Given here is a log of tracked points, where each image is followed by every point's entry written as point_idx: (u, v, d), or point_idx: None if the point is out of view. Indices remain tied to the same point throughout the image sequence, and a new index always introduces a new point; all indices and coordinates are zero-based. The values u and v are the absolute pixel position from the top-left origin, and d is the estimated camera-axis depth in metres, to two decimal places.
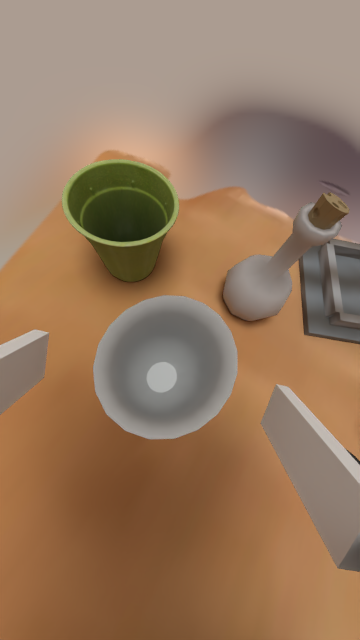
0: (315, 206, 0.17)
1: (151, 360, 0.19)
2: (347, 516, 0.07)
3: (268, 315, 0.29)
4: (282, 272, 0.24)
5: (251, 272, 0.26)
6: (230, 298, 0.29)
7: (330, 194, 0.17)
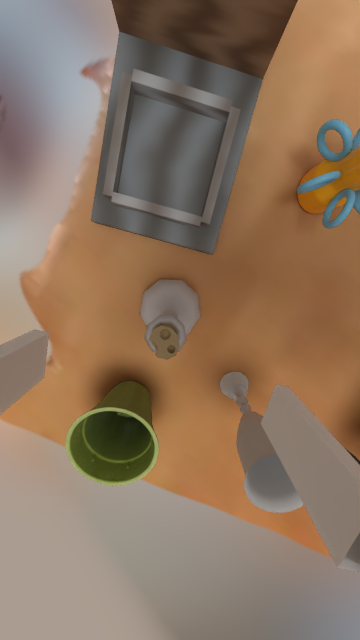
0: None
1: None
2: (347, 516, 0.07)
3: None
4: (177, 317, 0.26)
5: None
6: None
7: (152, 341, 0.18)
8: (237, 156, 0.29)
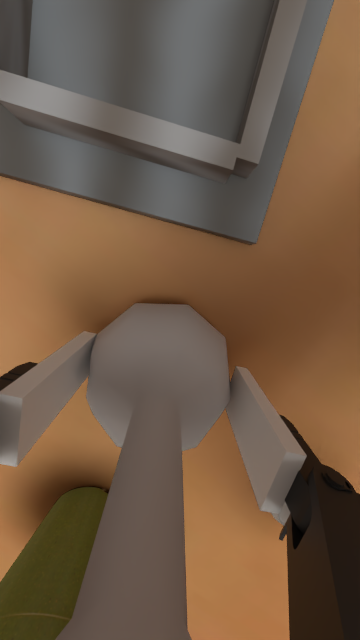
0: None
1: None
2: (269, 466, 0.08)
3: (227, 361, 0.13)
4: (180, 440, 0.08)
5: None
6: None
7: None
8: None
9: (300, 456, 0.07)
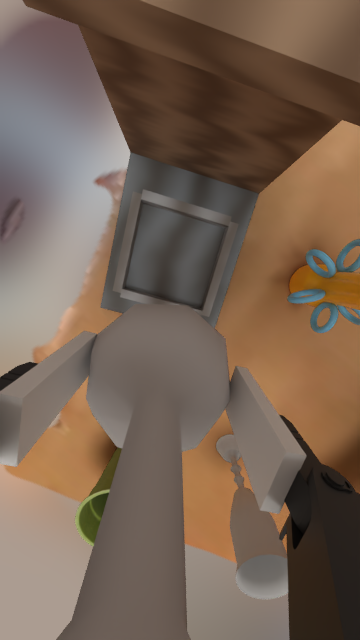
0: None
1: None
2: (269, 466, 0.08)
3: (227, 362, 0.13)
4: (180, 441, 0.08)
5: None
6: None
7: None
8: (235, 256, 0.32)
9: (300, 456, 0.07)
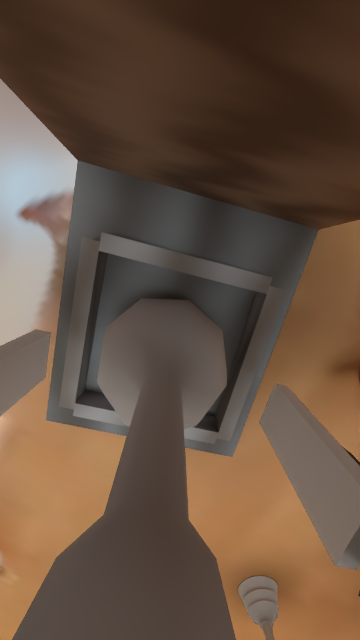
0: None
1: None
2: (344, 514, 0.07)
3: (224, 352, 0.15)
4: (182, 411, 0.09)
5: None
6: None
7: None
8: (273, 335, 0.18)
9: None
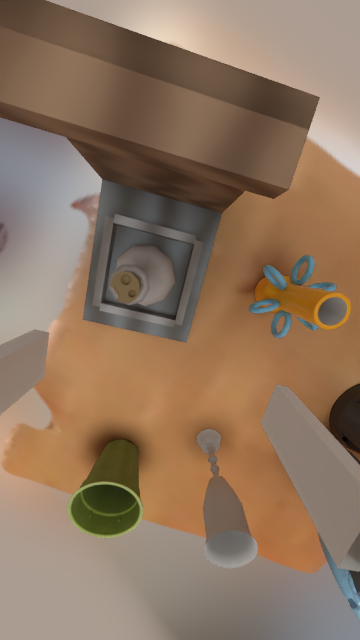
0: None
1: None
2: (347, 516, 0.07)
3: (173, 270, 0.32)
4: (148, 277, 0.26)
5: None
6: (155, 302, 0.33)
7: (113, 286, 0.18)
8: (203, 269, 0.35)
9: None
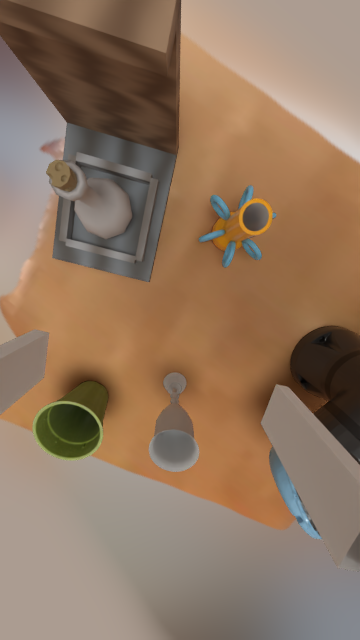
0: (60, 188, 0.22)
1: None
2: (347, 516, 0.07)
3: (129, 204, 0.35)
4: (98, 197, 0.29)
5: (95, 219, 0.32)
6: (114, 235, 0.36)
7: (48, 173, 0.21)
8: (162, 210, 0.38)
9: None
